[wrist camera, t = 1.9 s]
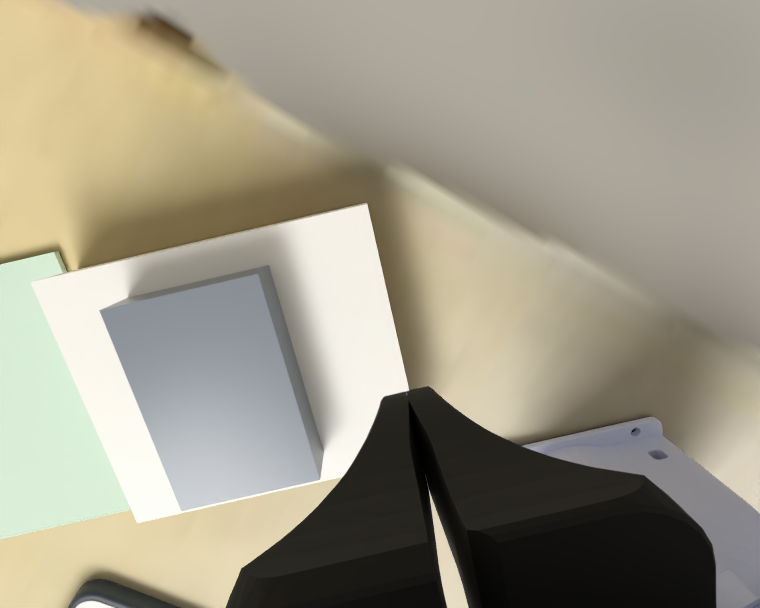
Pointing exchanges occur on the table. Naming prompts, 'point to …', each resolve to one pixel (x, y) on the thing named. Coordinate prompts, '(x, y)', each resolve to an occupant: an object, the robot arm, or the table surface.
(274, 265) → the white flat block
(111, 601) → the phone case
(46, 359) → the mat
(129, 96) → the table surface
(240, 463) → the thick grey-blue block
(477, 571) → the robot arm
